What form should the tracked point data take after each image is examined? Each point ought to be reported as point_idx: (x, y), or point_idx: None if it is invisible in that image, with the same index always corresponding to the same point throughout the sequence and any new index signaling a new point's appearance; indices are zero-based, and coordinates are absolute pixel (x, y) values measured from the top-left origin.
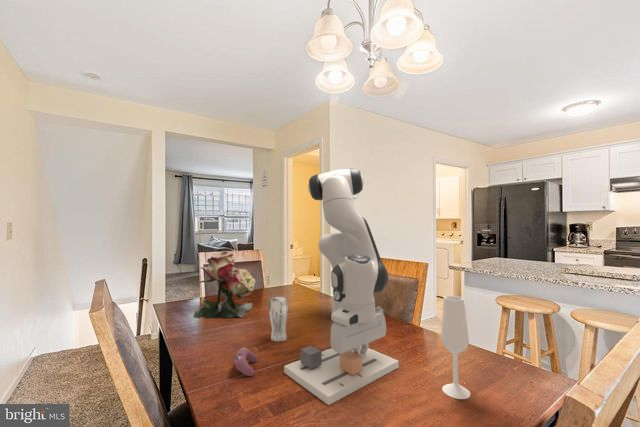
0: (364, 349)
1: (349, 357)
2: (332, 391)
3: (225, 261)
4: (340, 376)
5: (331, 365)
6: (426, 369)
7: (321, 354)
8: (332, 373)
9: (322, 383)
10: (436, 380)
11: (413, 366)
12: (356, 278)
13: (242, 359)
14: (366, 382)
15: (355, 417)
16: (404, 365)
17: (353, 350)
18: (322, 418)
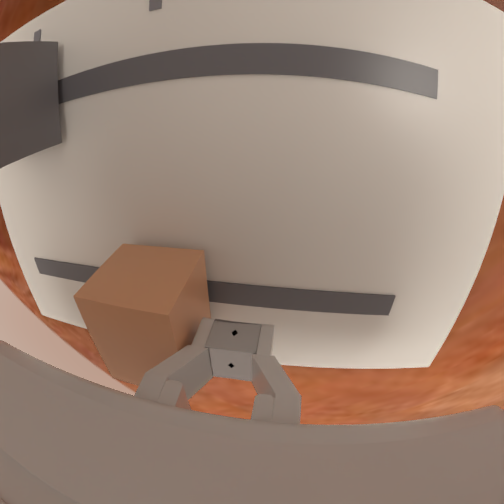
0: (261, 393)
1: (111, 359)
2: (54, 310)
3: None
4: None
5: (114, 164)
6: (444, 387)
7: (15, 160)
8: (83, 236)
9: (35, 262)
10: (392, 418)
11: (451, 363)
12: None
13: None
14: None
15: (98, 361)
16: (447, 345)
17: (163, 366)
18: (39, 313)
